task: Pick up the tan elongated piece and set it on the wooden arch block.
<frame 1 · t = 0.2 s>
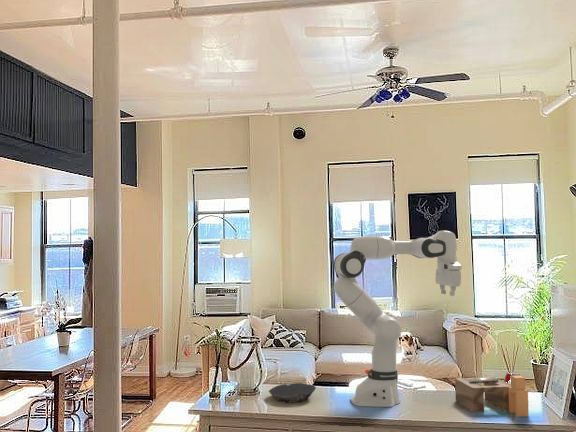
hand: (447, 294, 252), 48 cm above the counter, tool pointing down, fingers open, 8 cm apart
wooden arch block: (484, 405, 240), on the counter
tan elongated piece: (518, 414, 227), on the counter
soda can: (513, 399, 249), on the counter
bowl: (292, 399, 251), on the counter
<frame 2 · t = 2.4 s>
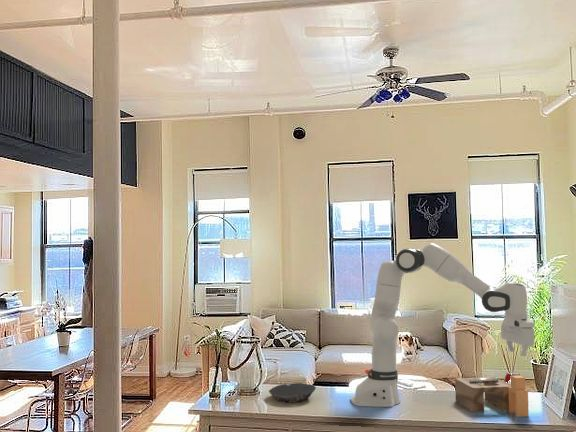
hand: (517, 353, 228), 25 cm above the counter, tool pointing down, fingers open, 8 cm apart
nothing on the counter moved.
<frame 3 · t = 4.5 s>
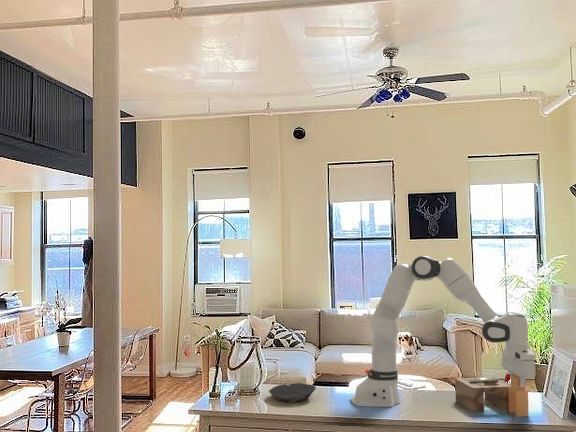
hand: (517, 384, 228), 12 cm above the counter, tool pointing down, fingers closed on tan elongated piece, 4 cm apart
tan elongated piece: (518, 414, 227), on the counter, touching gripper
everything else where it was.
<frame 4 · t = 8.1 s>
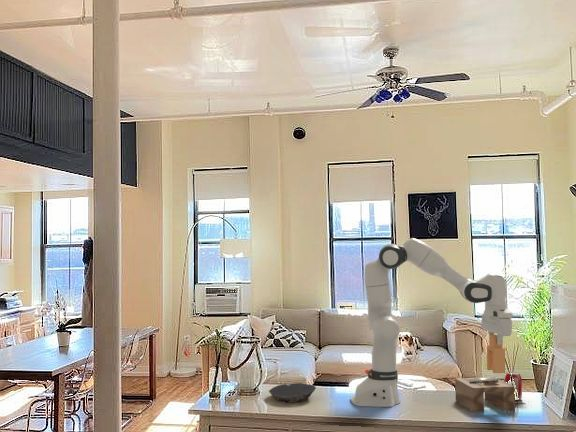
hand: (495, 343, 236), 28 cm above the counter, tool pointing down, fingers closed on tan elongated piece, 4 cm apart
tan elongated piece: (495, 371, 235), point 16 cm above the counter, touching gripper
everything else where it was.
when the fingers open (16 cm above the counter, at t = 11.7 s): tan elongated piece stays where it is, resting on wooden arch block.
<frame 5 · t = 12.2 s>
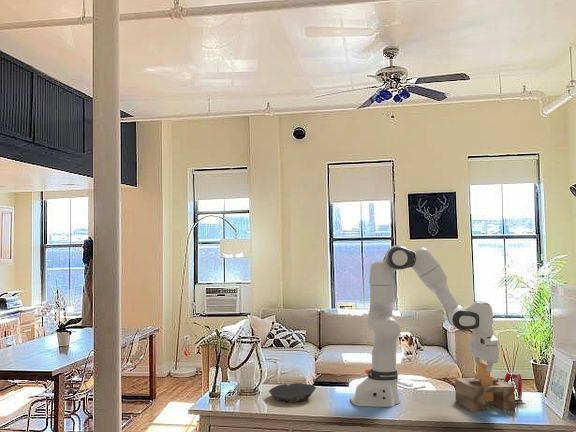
hand: (483, 369, 241), 16 cm above the counter, tool pointing down, fingers open, 8 cm apart
tan elongated piece: (484, 399, 240), point 3 cm above the counter, touching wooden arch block
everything else where it was.
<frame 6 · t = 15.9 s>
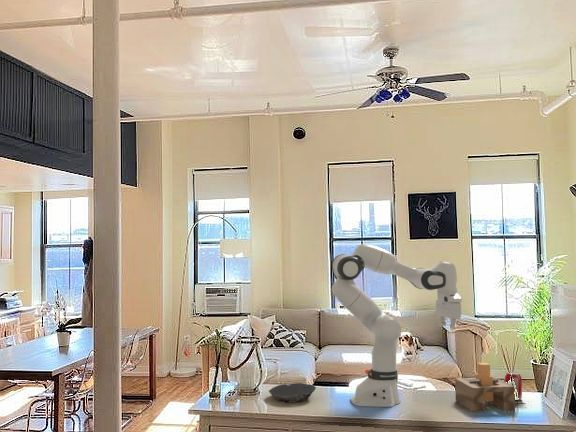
hand: (447, 327, 250), 33 cm above the counter, tool pointing down, fingers open, 8 cm apart
nothing on the counter moved.
at the end: tan elongated piece 0.0 cm off-centre on the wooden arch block, point 2.6 cm above the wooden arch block's base; tan elongated piece touching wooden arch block; the gripper is holding nothing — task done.
